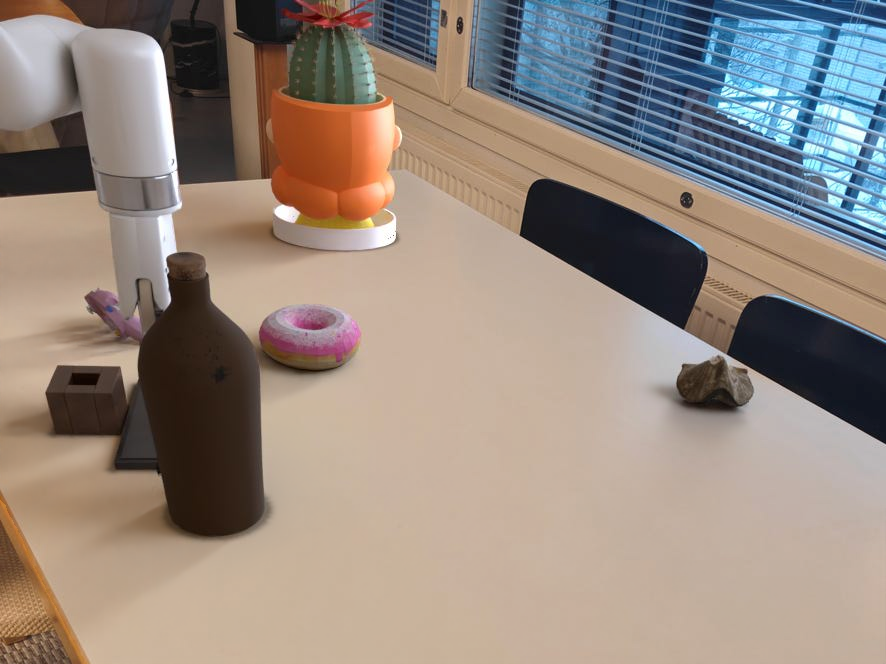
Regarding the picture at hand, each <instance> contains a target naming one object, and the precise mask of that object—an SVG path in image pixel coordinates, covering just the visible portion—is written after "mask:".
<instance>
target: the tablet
mask: <svg viewBox="0 0 886 664" xmlns="http://www.w3.org/2000/svg"><path fill="white" fill-rule="evenodd" d="M157 464H158V459H157V455H156V450H155V446H154V442H153V437H152V433H151V428H150V424H149V420H148V415H147V411H146V407H145V403H144V399H143V394H142V390H141V386H140V382H139V377H138V379H137V381H136V385H135V388H134V393H133V395H132V399H131V403H130V405H129V409H128V413H127V416H126V420H125V423H124V427H123V430H122V433H121V437H120V440H119V444H118V447H117V451H116V454H115V458H114V461H113V465H114V469H115V470H156V465H157Z"/></svg>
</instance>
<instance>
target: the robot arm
mask: <svg viewBox="0 0 886 664" xmlns="http://www.w3.org/2000/svg"><path fill="white" fill-rule="evenodd" d="M169 95H170V94H169V87H168V79H167V70H166V63H165V57H164V53H163V50H162V48H161V46H160V45H159V43H158V41H157V40H155V39H154V37H152V36H151V35H148V34H146V33H144V32H140V31H135V30H129V29H121V28H95V27H91V26H88V25H84V24H82V23H78V22H75V21H72V20H69V19H66V18H62V17H58V16H55V15H49V14H32V15H27V16H23V17H16V18H12V19H11V18H10V19H7V20H2V21H0V129H1V130H4V131H10V132H25V131H27V130H30V129H33V128H34V129H35V128H37V127H39V126H41V125H43V124H47V123H49V122H51V121H53V120H55V119H58V118H62V117H65V116H66V117H67V116H69V115H73V114H76V113H79V112H81V113H82V118H83V123H84V124H83V125H84V129H85V134H86V135H85V136H86V140H87V145H88V150H89V156H90V162H91V167H92V173H93V179H94V184H95V190H96V195H97V202H98V206H99V208H100V209H102V210H103V211H105V212H106V213H107V212H108V213H109V215H108V216H109V217H108V218H109V234H110V245H111V253H112V254H111V255H112V262H113V269H114V270H113V271H114V276H115V283H116V284H115V285H116V292H117V297H118V300H119V307H120V314H121V316H122V317H123V318H124V319H125V320H129V319H130V318H133V315H134V316H135V312H136V309H137V311H138V319H140V323H141V329H142V334H143V337H144V335H145V334H146V332H147V331H148V330H149V328H150V327H151V326H152V325H153V324H154V322H155V321H156V320H157V319H158V318H159V317H160V315H161V314H162V313H163V312H164V311H165V309H166V308H167V307H168V306H169V304H170V302H171V296H170V291H169V285H168V279H167V273H168V272H169V269H168V267H167V262H166V258H167V256H169V255H171V254H173V253H178V251H177V243H176V235H175V229H174V222H173V221H174V220H173V214H174V213H176V212H177V211H180V210H181V209H182V207H183V203H182V202H183V201H182V194H181V187H180V178H179V170H178V160H177V153H176V144H175V136H174V129H173V120H172V110H171V103H170V96H169Z"/></svg>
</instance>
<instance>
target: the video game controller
mask: <svg viewBox="0 0 886 664" xmlns="http://www.w3.org/2000/svg"><path fill="white" fill-rule="evenodd" d="M83 298H84V300H85V301H86V304H87V305H88V306H85V308H86V310H87V312H88V313H89V314H90V315H94V314H96V315H98V317H99V318H100V319H101V320H102V321H103V322H104V323H105V325H106V326H107V327H108V328H109V329H110V330H111V331H112V332H113V333H114V335H115V336H116V337H118V338H119V337H120V338H121V339H122V340H123V341H125V340H127V339H129V338H130V339H133V340H135V341H138V342H141V341H142V339H143V334H142V329H141V323H140V318H139V317H137V316H135V314H134V315H133V318H130V319H129V320H125V319H124V318H123V317H122V316H121V314H120V307H119V300H118V295H117V294H115V293H114V292H112V291H109V290H104V289H101V288H100V287H99V286H97V288H96V289H95V290H94V289H91V290H90V291H89V292H88V293H87V294H85V295H84V296H83Z"/></svg>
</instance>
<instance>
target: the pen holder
mask: <svg viewBox="0 0 886 664" xmlns="http://www.w3.org/2000/svg"><path fill="white" fill-rule="evenodd" d="M124 383H125V382H124V378H123V372H122V367H121V366H120V365H70V364H69V365H67V364H57V365H56V368H55V370H54V372H53V374H52V376H51V378H50V381H49V383H48V385H47V387H46V388H45V389H46V390H45V392H44V394H45V398H46V402H47V406H48V409H49V410H48V411H49V414H50V417H51V423H52V426H53V430H54V434H55V435H120V434H121V430H122V427H123V424H124V420H125V418H126V415H127V411H128V407H129V405H128V399H127V394H126V393H127V392H126V389H125V384H124Z"/></svg>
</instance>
